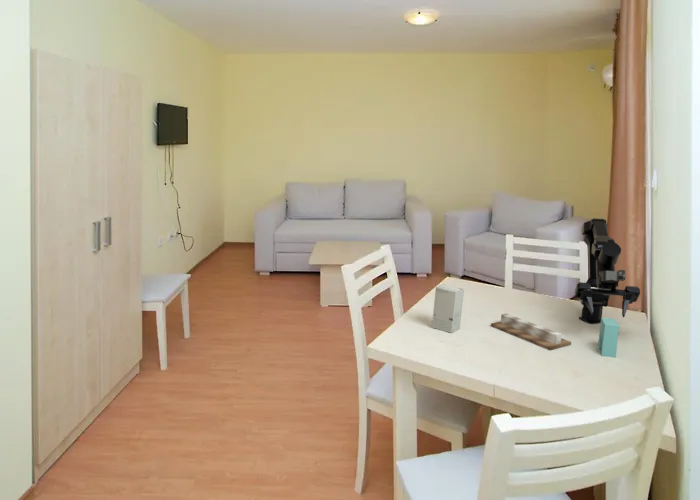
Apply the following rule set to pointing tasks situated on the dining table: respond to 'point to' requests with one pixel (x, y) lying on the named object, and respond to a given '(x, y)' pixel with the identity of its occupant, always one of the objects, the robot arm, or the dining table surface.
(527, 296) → the dining table surface
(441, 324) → the skincare box
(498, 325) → the rail board
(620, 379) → the dining table surface
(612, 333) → the teal rectangular block
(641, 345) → the dining table surface
